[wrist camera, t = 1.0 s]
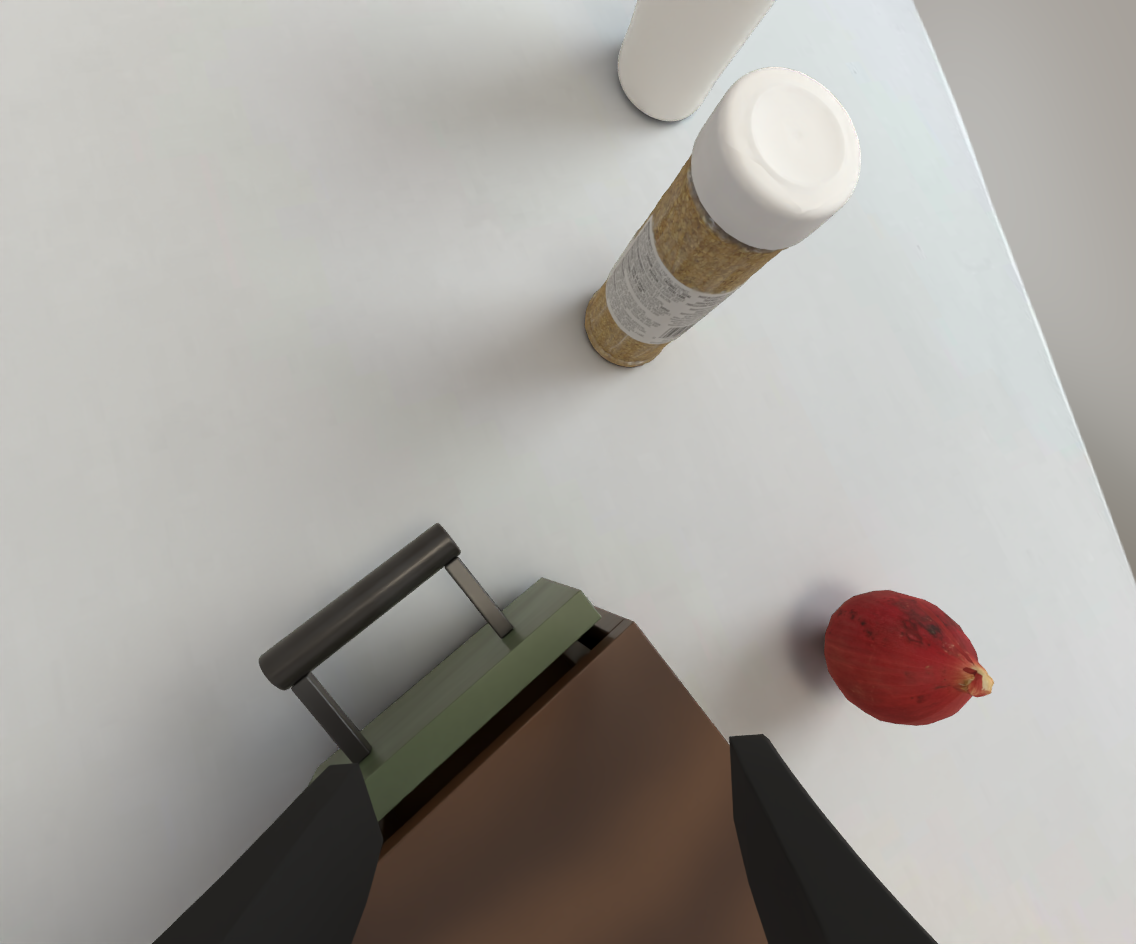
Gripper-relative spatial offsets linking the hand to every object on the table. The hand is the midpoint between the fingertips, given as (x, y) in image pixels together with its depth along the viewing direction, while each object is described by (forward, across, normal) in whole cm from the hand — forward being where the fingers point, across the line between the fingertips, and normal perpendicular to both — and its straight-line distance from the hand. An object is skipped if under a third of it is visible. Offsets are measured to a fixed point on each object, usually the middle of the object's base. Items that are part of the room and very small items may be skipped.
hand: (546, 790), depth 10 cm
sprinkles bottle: (+21, -3, -7) cm, 22 cm away
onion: (+17, -13, +10) cm, 23 cm away
